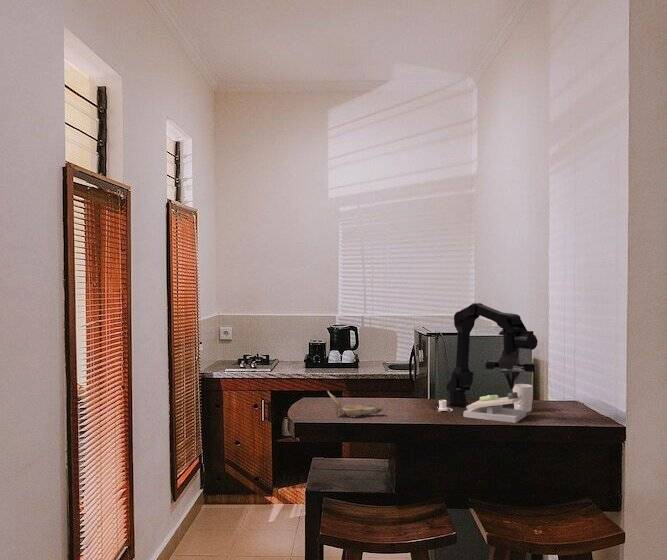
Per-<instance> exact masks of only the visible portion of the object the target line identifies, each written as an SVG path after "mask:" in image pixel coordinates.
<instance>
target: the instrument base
mask: <svg viewBox="0 0 667 560" xmlns="http://www.w3.org/2000/svg"><path fill="white" fill-rule="evenodd" d="M503 405H504V404H503ZM503 405H495V406H487V407H478V408H470V409H466V410H464V411H463V412H462V413H463V414H462V415H463V417H464V418H469V419H479V420H480V419H481V420H486V421H487V420H488V421H496V422H497V421H498V422H504V423H505V422H506V423H512V424H513V423H514V424H515V423H518V422H519V421H520V420H522V419H523V418H525V417H527V413H528V412H526V410H517V409H514V408H506V407H504V408H503Z"/></svg>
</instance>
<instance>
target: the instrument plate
mask: <svg viewBox="0 0 667 560" xmlns="http://www.w3.org/2000/svg"><path fill="white" fill-rule="evenodd" d="M506 395H507V396H505V397H499V395H498V394H491V395H489V394H488V395H483V396H480V397H479V400H477V401H475V402H473V403H470V404H468V405H466V406H465V407H466V410H468V409H470V408H478V407H488V406H495V405H510V404H512V405H513V404H514V402H516V401H518V400H520V399H521V398H523V396H522V395H519V396H518V395H517V392H513V391H512V392H509V393H507V394H506Z"/></svg>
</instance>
